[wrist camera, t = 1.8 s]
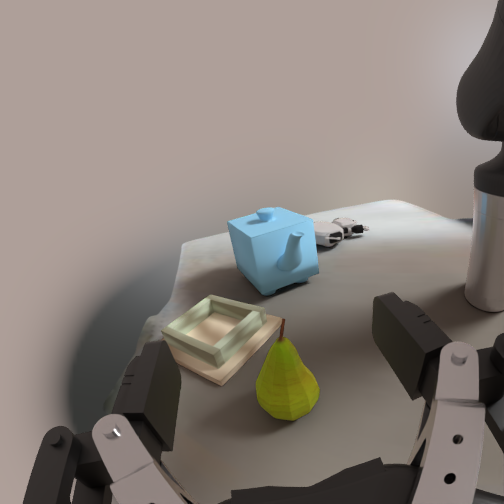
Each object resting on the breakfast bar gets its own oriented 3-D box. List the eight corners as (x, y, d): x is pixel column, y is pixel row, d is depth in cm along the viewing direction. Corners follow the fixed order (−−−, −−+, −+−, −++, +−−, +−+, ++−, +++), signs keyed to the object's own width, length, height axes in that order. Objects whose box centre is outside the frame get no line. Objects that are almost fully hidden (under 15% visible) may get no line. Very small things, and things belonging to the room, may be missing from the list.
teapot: (235, 270, 63) (220, 209, 57) (281, 255, 66) (271, 195, 60) (280, 321, 43) (264, 235, 38) (339, 295, 46) (333, 214, 41)
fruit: (250, 419, 27) (221, 337, 23) (277, 381, 32) (260, 297, 27) (304, 437, 24) (293, 355, 19) (328, 394, 28) (324, 306, 24)
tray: (215, 305, 51) (210, 288, 49) (282, 323, 42) (279, 304, 41) (155, 350, 41) (147, 333, 40) (222, 386, 32) (214, 366, 31)
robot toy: (340, 229, 77) (294, 241, 71) (339, 212, 75) (292, 223, 70) (372, 239, 66) (324, 255, 61) (372, 221, 64) (323, 235, 59)
